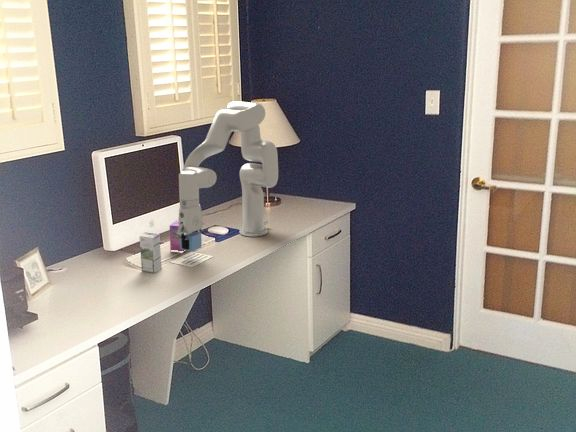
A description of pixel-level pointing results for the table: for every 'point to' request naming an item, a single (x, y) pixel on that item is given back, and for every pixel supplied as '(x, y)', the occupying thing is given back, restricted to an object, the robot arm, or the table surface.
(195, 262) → the letter
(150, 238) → the syrup box
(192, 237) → the blue cube
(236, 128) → the robot arm
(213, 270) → the table surface
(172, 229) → the box
